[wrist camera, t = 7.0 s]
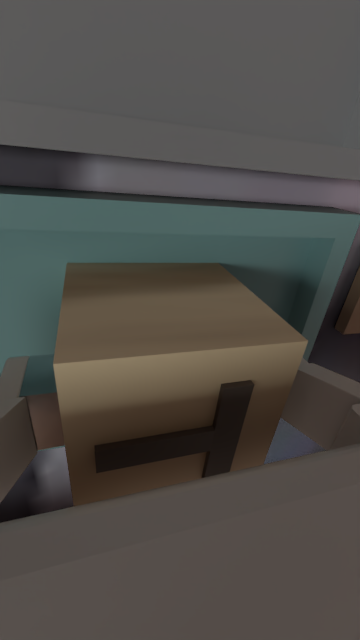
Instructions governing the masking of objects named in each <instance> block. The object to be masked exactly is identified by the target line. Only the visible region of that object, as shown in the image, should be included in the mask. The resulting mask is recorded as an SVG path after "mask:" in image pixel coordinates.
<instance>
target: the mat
mask: <svg viewBox="0 0 360 640" xmlns="http://www.w3.org/2000/svg"><path fill="white" fill-rule="evenodd" d="M335 329H336V330H338V331H339V332H341V333H342V334H343V335H344V334H355V333H360V266H359V269H358V271H357V274H356V276H355V279H354V281H353V283H352V286H351V288H350V291H349V293H348V296H347V298H346V301H345V303H344V306H343V308H342V310H341V313H340V315H339V318H338V320H337V323H336V325H335Z"/></svg>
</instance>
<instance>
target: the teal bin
mask: <svg viewBox="0 0 360 640" xmlns="http://www.w3.org/2000/svg"><path fill="white" fill-rule="evenodd" d="M359 224H360V214H357V213H353V212H349V211H345V210H341V209H337V208H333V207H322V206H306V205H291V204H276V203H261V202H246V201H230V200H215V199H200V198H185V197H170V196H154V195H139V194H124V193H109V192H94V191H78V190H63V189H48V188H33V187H18V186H2V185H0V376H1V373H2V370H3V368H4V365H5V362H6V360H7V359H8V358H9V357H20V356H33V355H49V354H55V346H56V339H57V331H58V324H59V317H60V309H61V302H62V294H63V287H64V280H65V272H66V265H67V263H219V264H220V265H221V266H223V267H224V268H225V269H226V270H227V271H228V272H229V273H231V274H232V275H233V276H234V277H235V278H236V279H238V280H239V281H240V282H241V283H242V284H243V285H244V286H246V287H247V288H248V289H249V290H250V291H251V292H253V293H254V294H255V295H256V296H257V297H258V298H259V299H261V300H262V301H263V302H264V303H265V304H266V305H268V306H269V307H270V308H271V309H272V310H273V311H274V312H276V313H277V314H278V315H279V316H280V317H281V318H282V319H284V320H285V321H286V322H287V323H288V324H289V325H291V326H292V327H293V328H294V329H295V330H296V331H297V332H299V333H300V334H301V335H302V336H303V337H304V338H306V339H307V340H308V343H307V346H306V349H305V352H304V354H303V358H304V359H305V360H306V361H308V359H309V356H310V353H311V351H312V348H313V345H314V343H315V340H316V337H317V335H318V332H319V330H320V327H321V324H322V322H323V319H324V316H325V314H326V311H327V308H328V306H329V303H330V301H331V298H332V295H333V293H334V290H335V287H336V285H337V282H338V279H339V277H340V274H341V272H342V269H343V266H344V264H345V261H346V258H347V256H348V253H349V250H350V248H351V245H352V243H353V240H354V237H355V235H356V232H357V229H358V227H359ZM60 447H65V445H64V446H59V447H54V448H60ZM54 448H49V449H54ZM44 450H48V449H44ZM38 451H42V450H38Z"/></svg>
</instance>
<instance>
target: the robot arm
mask: <svg viewBox="0 0 360 640" xmlns="http://www.w3.org/2000/svg"><path fill="white" fill-rule="evenodd" d="M53 361H54V354H49V355H33V356H20V357H9V358H8V359H7V360H6V362H5V365H4V368H3V370H2V373H1V376H0V503H1V502H2V500H3V499H4V498H5V496H6V495H7V493H8V492H9V491H10V489H11V488H12V487H13V485H14V484H15V483H16V481H17V480H18V478H19V477H20V476H21V474H22V473H23V472H24V470H25V469H26V468H27V466H28V465H29V463H30V462H31V461H32V459H33V458H34V457H35V455H36V454H37V451H38V450H44V449H49V448H54V447H59V446H64V445H65V443H64V436H63V429H62V422H61V415H60V408H59V401H58V394H57V388H56V381H55V374H54V367H53ZM281 418H282V419H284V420H285V421H287V422H288V423H289V424H291V425H292V426H294V427H295V428H296V429H298V430H299V431H301V432H302V433H303V434H305V435H306V436H308V437H309V438H310V439H312V440H313V441H315V442H316V443H317V444H319V445H320V446H322V447H323V448H324V449H326V450H327V451H322V452H318V453H313V454H309V455H304V456H300V457H295V458H291V459H286V460H282V461H277V462H273V463H268V464H264V465H259V466H255V467H250V468H246V469H241V470H237V471H232V472H228V473H223V474H218V475H214V476H209V477H205V478H200V479H196V480H191V481H187V482H182V483H178V484H173V485H169V486H164V487H160V488H155V489H151V490H146V491H142V492H137V493H133V494H128V495H124V496H119V497H115V498H110V499H106V500H101V501H97V502H92V503H88V504H83V505H79V506H74V507H70V508H65V509H61V510H56V511H52V512H47V513H43V514H38V515H34V516H29V517H24V518H20V519H15V520H11V521H6V522H2V523H0V640H360V383H359V382H357V381H354V380H352V379H349V378H347V377H345V376H342V375H340V374H338V373H335V372H333V371H331V370H328V369H326V368H324V367H321V366H319V365H316V364H314V363H308V362H307V361H306V360H305V359H304V358H303V357H302V360H301V363H300V365H299V368H298V371H297V373H296V376H295V379H294V382H293V384H292V387H291V390H290V393H289V395H288V398H287V401H286V404H285V406H284V409H283V412H282V414H281Z"/></svg>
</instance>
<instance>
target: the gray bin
mask: <svg viewBox="0 0 360 640" xmlns="http://www.w3.org/2000/svg"><path fill="white" fill-rule="evenodd" d="M0 144H2V145H12V146H22V147H31V148H41V149H51V150H61V151H71V152H81V153H91V154H101V155H111V156H121V157H131V158H141V159H151V160H161V161H170V162H180V163H190V164H200V165H210V166H220V167H230V168H240V169H250V170H260V171H270V172H280V173H290V174H299V175H309V176H319V177H329V178H339V179H349V180H359V181H360V0H0Z"/></svg>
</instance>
